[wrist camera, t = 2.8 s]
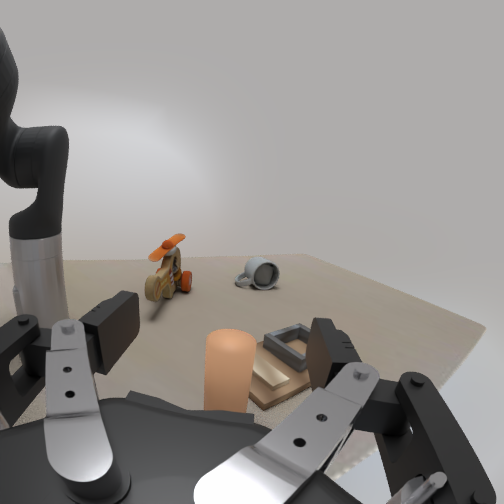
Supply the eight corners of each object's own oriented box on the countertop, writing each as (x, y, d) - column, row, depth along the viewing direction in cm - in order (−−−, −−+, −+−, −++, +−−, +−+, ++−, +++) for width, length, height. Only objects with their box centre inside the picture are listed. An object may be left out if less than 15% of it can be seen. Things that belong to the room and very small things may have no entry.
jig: (263, 410, 30) (267, 390, 29) (212, 362, 39) (213, 342, 39) (342, 367, 41) (348, 349, 40) (292, 336, 50) (295, 319, 49)
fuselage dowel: (217, 444, 24) (223, 360, 21) (196, 418, 28) (197, 334, 25) (251, 429, 27) (266, 346, 24) (229, 406, 30) (237, 325, 28)
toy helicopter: (192, 286, 69) (196, 232, 65) (171, 325, 48) (173, 252, 45) (161, 282, 68) (163, 228, 65) (131, 318, 48) (129, 247, 45)
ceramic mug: (265, 279, 81) (268, 253, 79) (277, 289, 74) (281, 261, 72) (230, 280, 77) (232, 253, 75) (240, 291, 70) (243, 262, 68)
